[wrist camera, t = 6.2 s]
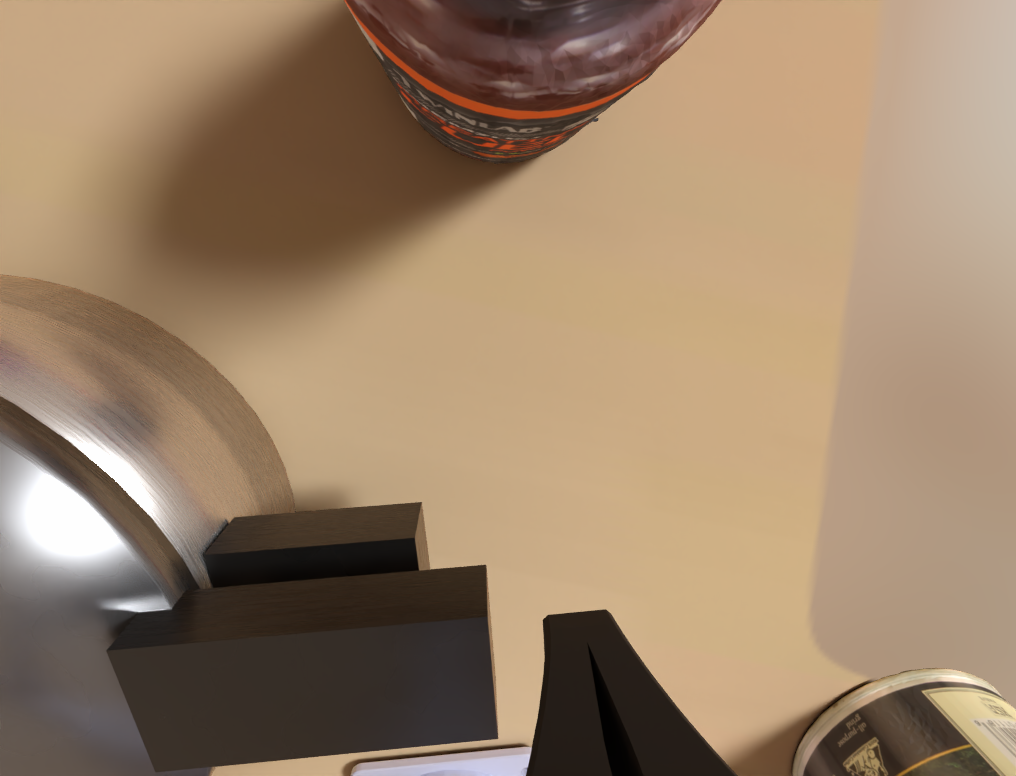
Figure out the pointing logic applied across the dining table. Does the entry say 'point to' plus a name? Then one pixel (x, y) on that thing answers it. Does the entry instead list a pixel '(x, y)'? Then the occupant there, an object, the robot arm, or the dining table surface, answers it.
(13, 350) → the cooker pot
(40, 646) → the cooker lid
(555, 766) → the robot arm
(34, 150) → the dining table surface
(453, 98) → the supplement bottle
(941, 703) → the coffee can
